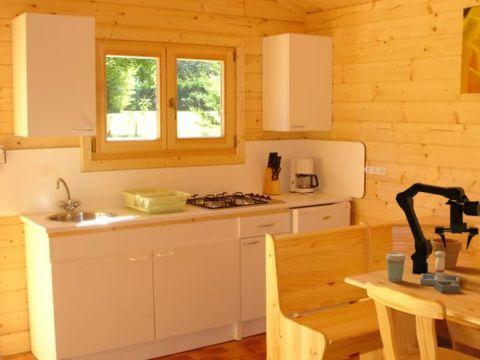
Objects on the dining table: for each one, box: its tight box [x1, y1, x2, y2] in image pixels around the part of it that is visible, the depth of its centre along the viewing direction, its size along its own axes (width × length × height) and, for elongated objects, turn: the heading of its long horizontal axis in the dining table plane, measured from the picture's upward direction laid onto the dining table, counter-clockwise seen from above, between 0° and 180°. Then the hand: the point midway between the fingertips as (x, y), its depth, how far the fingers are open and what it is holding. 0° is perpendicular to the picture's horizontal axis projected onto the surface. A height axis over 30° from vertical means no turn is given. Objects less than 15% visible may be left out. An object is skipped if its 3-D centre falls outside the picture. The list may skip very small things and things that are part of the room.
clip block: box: [433, 281, 461, 294], centre depth 281 cm, size 8×8×3 cm
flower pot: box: [430, 237, 463, 270], centre depth 324 cm, size 14×14×13 cm
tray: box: [419, 273, 460, 287], centre depth 294 cm, size 16×11×2 cm
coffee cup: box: [385, 252, 406, 283], centre depth 298 cm, size 8×8×12 cm
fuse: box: [434, 251, 446, 280], centre depth 293 cm, size 4×4×13 cm
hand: (456, 249), depth 302 cm, fingers open, 9 cm apart
